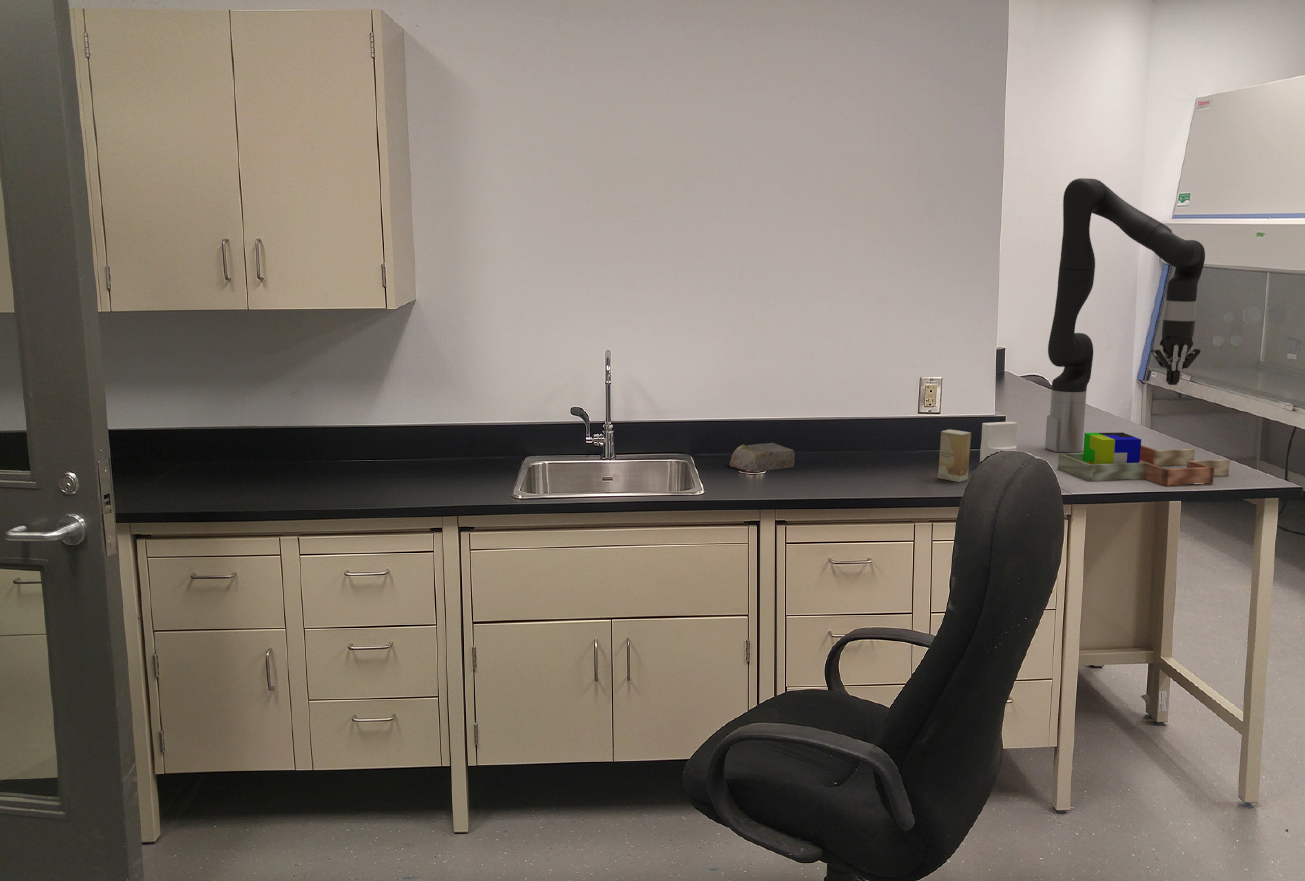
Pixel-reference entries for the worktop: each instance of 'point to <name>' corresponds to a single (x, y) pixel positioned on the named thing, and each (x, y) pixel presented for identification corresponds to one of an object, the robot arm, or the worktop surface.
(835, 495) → the worktop surface
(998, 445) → the base with upright slab
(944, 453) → the skincare box
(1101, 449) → the puzzle toy
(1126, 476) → the open sectioned tray
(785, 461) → the geological specimen
